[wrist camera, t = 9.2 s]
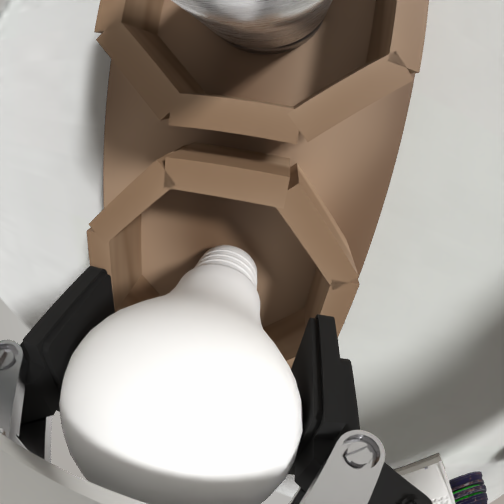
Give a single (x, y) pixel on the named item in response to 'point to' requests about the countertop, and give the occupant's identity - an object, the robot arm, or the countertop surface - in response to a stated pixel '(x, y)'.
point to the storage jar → (469, 489)
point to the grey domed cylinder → (260, 22)
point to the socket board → (251, 153)
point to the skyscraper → (429, 479)
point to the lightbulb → (185, 394)
